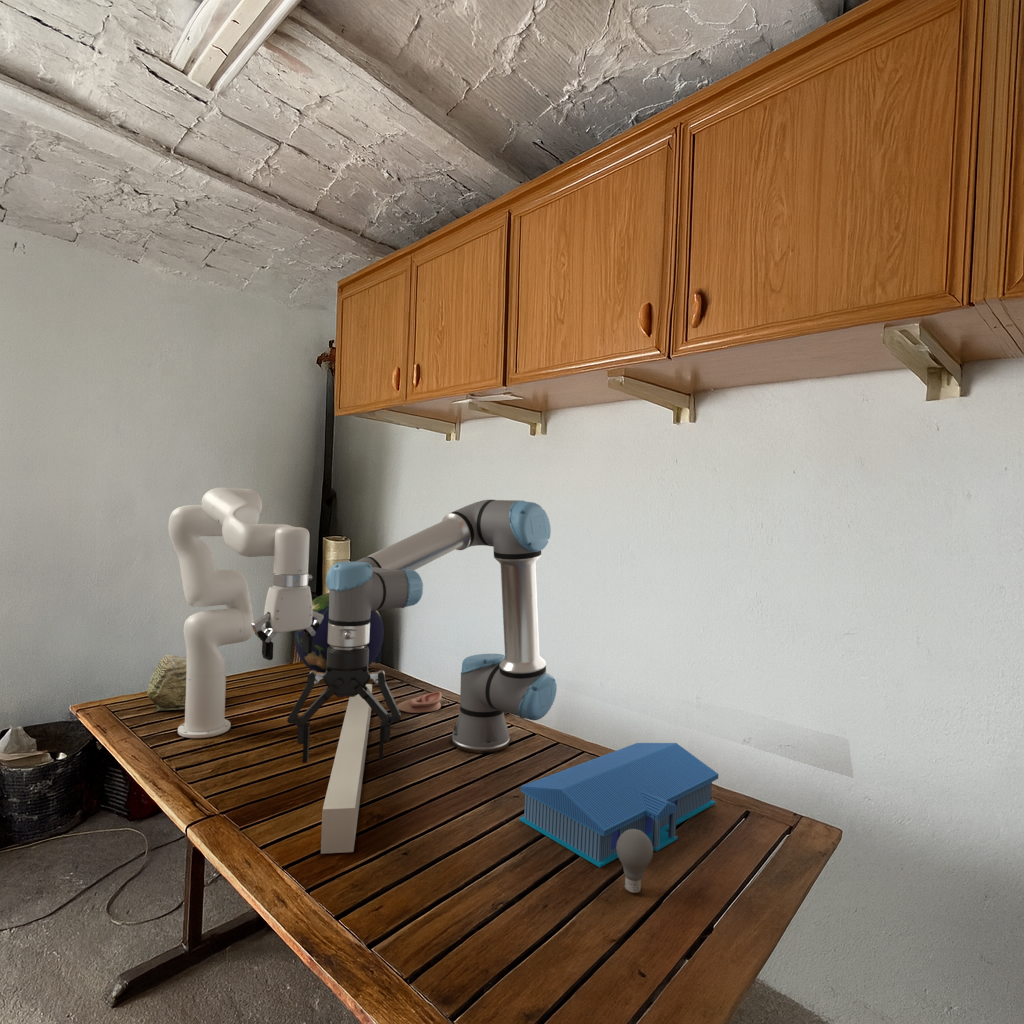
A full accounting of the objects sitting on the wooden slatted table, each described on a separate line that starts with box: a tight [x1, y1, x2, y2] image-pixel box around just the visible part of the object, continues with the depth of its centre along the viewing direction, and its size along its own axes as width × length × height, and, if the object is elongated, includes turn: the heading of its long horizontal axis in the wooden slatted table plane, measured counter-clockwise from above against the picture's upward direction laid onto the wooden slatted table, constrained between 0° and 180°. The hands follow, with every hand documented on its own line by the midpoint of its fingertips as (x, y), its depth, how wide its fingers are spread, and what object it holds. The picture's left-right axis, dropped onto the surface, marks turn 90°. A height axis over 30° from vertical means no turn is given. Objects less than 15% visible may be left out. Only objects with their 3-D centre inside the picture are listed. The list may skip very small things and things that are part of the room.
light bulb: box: [616, 829, 654, 894], centre depth 106 cm, size 6×6×10 cm
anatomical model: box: [396, 691, 443, 714], centre depth 193 cm, size 13×4×12 cm
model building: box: [519, 742, 719, 868], centre depth 132 cm, size 39×24×10 cm, turn 132°
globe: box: [293, 592, 385, 673], centre depth 220 cm, size 30×30×30 cm
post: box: [320, 683, 373, 855], centre depth 150 cm, size 76×6×8 cm, turn 10°
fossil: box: [147, 654, 187, 712], centre depth 185 cm, size 9×18×15 cm, turn 132°
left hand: (287, 655), depth 145 cm, fingers open, 9 cm apart
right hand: (343, 759), depth 118 cm, fingers open, 13 cm apart
